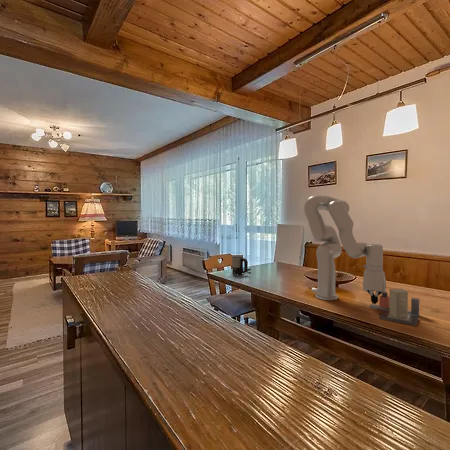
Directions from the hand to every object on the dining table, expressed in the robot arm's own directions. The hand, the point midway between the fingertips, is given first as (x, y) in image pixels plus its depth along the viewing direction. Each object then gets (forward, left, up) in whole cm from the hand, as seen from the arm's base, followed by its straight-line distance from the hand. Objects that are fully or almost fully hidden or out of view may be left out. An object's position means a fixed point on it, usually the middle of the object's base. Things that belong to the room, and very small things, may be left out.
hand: (374, 303), depth 146 cm
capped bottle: (+5, 0, -1) cm, 5 cm away
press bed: (+12, -9, -3) cm, 16 cm away
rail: (+8, 0, -3) cm, 8 cm away
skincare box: (+12, -9, -1) cm, 15 cm away
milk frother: (-103, +27, -3) cm, 107 cm away
